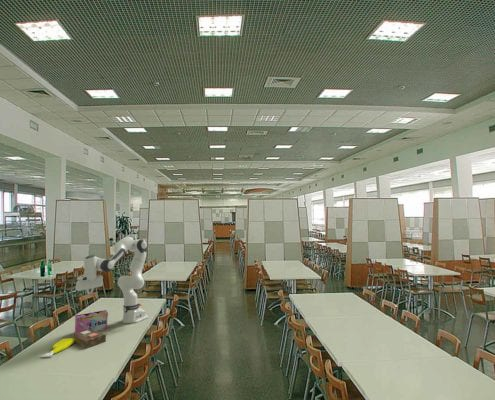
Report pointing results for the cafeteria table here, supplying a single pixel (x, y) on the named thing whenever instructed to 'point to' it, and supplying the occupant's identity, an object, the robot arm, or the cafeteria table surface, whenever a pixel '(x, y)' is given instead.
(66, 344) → the spray bottle
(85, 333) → the white key
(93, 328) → the gum box
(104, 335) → the key panel
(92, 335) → the brick key
